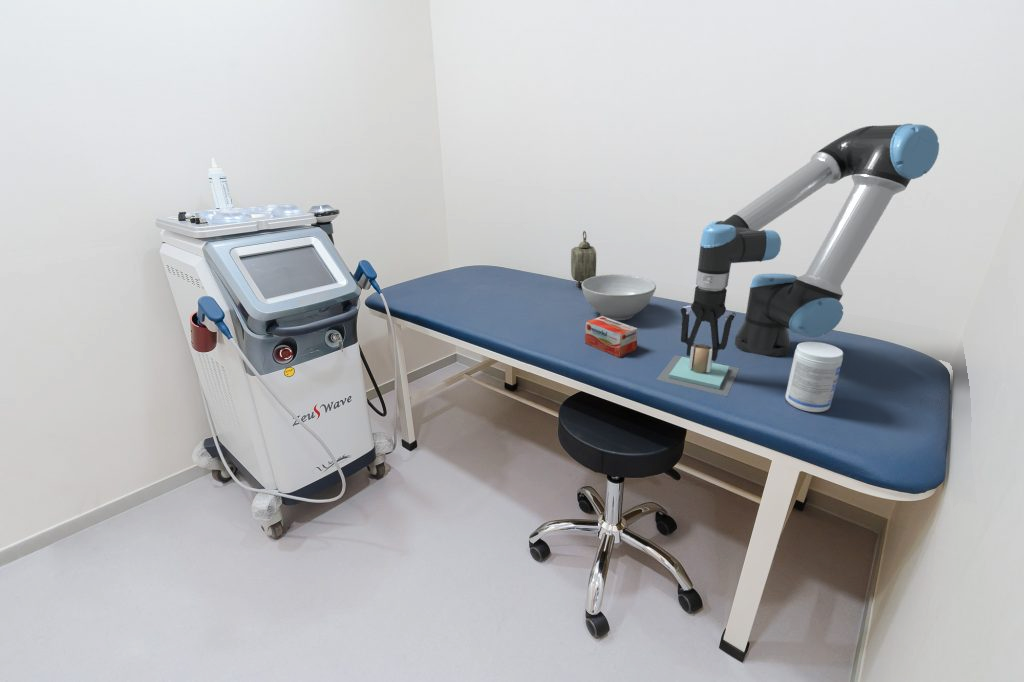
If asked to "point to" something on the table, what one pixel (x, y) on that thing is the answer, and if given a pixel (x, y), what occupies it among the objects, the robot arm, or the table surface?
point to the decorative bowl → (618, 295)
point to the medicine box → (611, 336)
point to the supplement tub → (814, 376)
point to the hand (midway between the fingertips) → (699, 368)
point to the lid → (700, 369)
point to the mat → (722, 391)
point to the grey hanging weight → (583, 261)
